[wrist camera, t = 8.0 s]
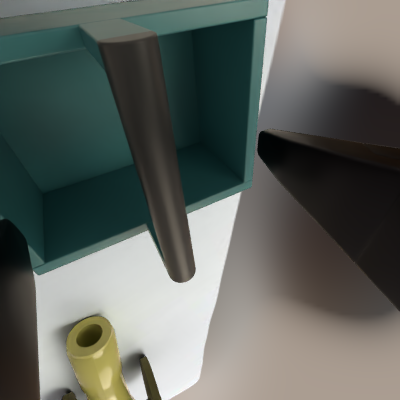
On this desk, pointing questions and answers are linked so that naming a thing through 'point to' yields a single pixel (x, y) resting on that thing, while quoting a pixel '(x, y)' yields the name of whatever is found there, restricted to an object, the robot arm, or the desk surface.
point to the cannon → (102, 363)
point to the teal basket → (126, 122)
